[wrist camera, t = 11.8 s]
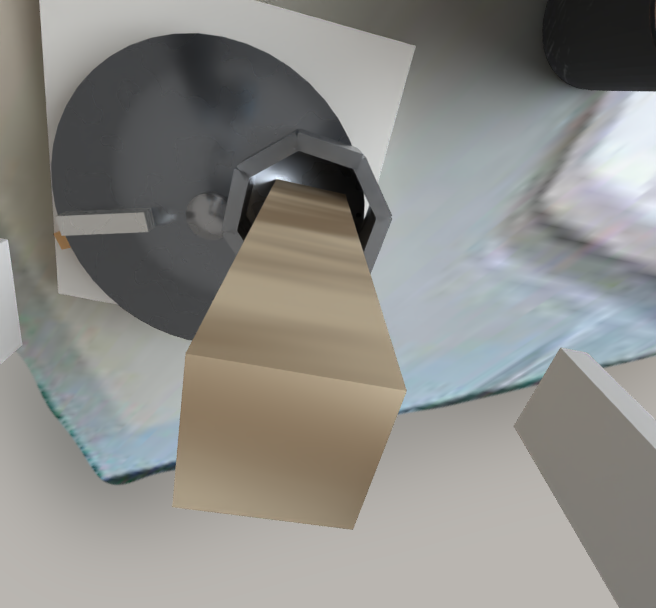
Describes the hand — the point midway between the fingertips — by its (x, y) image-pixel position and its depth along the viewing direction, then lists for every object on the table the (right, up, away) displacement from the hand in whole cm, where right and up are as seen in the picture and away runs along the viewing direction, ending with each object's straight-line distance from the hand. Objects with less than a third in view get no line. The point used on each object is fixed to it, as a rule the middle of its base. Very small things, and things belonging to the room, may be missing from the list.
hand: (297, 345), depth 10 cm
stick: (-1, +5, +12) cm, 13 cm away
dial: (-5, +7, +13) cm, 16 cm away
